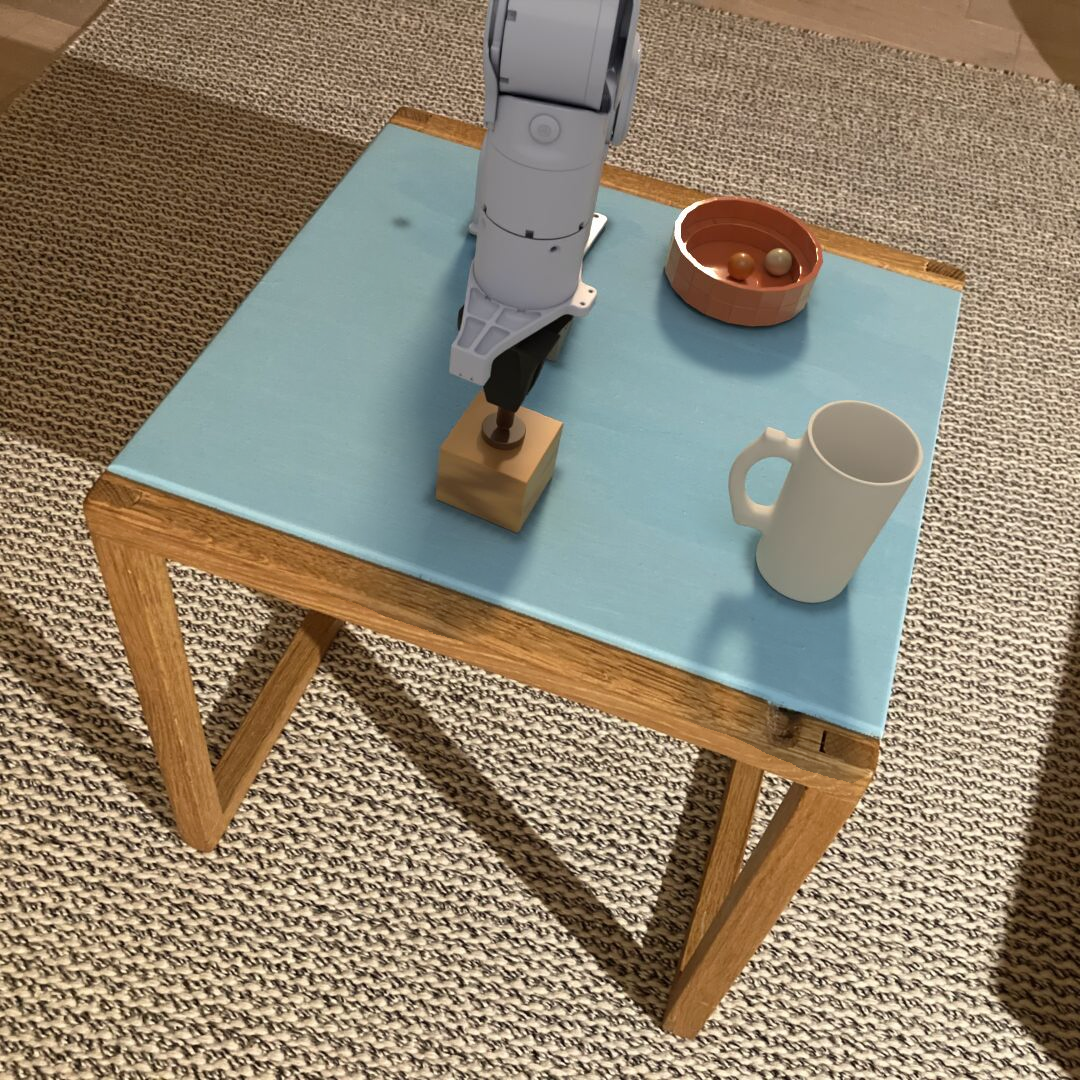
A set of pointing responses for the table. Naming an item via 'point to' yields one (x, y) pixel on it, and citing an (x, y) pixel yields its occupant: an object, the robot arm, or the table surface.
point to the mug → (827, 495)
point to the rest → (497, 466)
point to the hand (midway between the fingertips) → (508, 395)
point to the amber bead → (740, 266)
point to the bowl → (753, 229)
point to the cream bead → (778, 262)
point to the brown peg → (503, 430)
